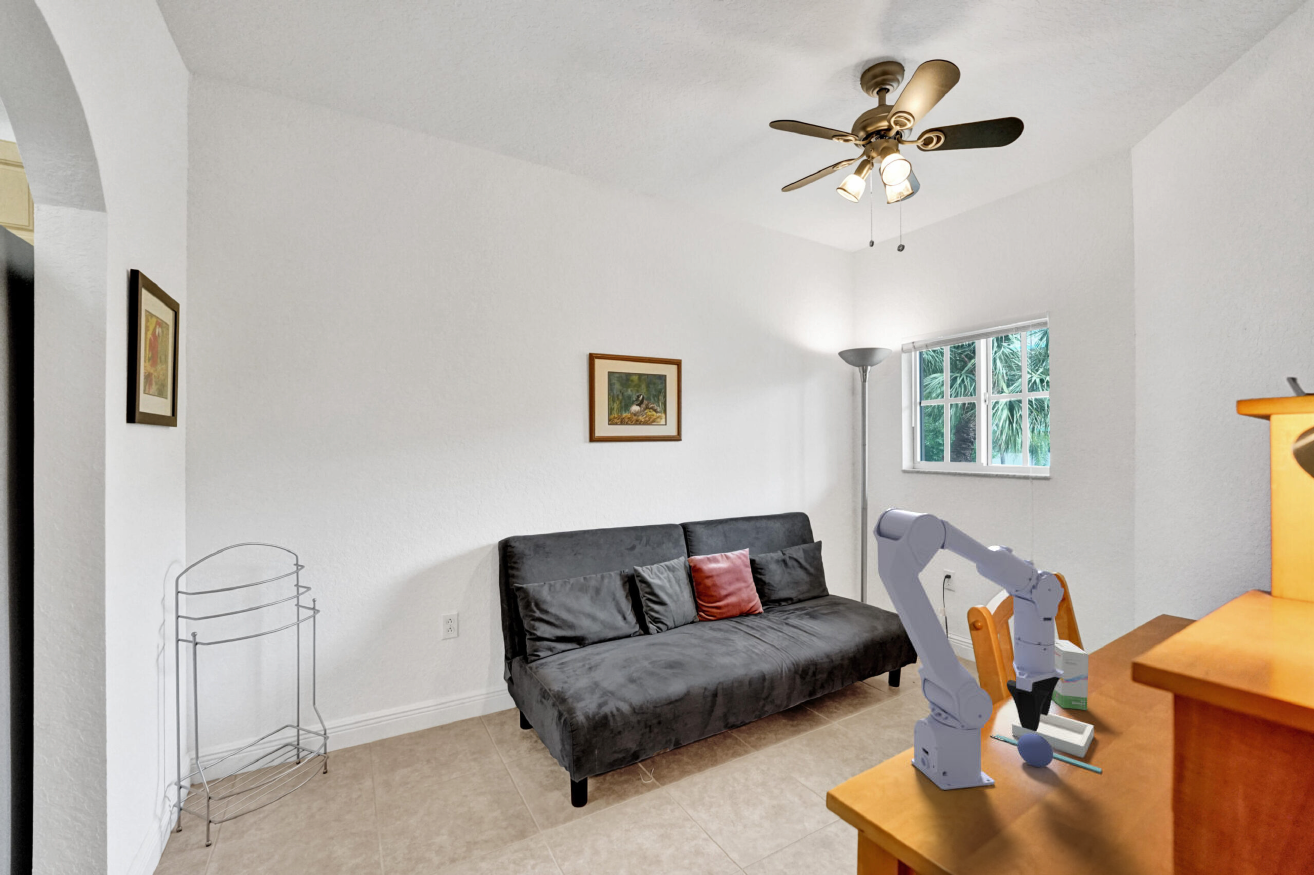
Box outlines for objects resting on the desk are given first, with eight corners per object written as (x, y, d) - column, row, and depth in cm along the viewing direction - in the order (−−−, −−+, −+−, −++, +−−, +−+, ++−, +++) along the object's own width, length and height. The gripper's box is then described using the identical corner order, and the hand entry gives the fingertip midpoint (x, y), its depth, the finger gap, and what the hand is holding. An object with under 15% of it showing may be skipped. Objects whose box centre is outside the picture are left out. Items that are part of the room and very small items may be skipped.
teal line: (990, 736, 102) (990, 734, 102) (992, 734, 102) (992, 732, 102) (1100, 773, 90) (1100, 771, 90) (1101, 770, 91) (1101, 768, 91)
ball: (1034, 775, 90) (1034, 744, 90) (1010, 758, 95) (1009, 728, 95) (1061, 772, 90) (1060, 741, 91) (1035, 755, 95) (1034, 726, 96)
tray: (1083, 758, 95) (1083, 746, 95) (1012, 735, 102) (1012, 724, 102) (1093, 736, 102) (1093, 725, 102) (1026, 716, 110) (1026, 706, 110)
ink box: (1041, 691, 122) (1041, 637, 122) (1067, 693, 121) (1067, 638, 121) (1061, 708, 113) (1061, 650, 113) (1090, 711, 112) (1089, 652, 112)
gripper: (1053, 657, 85) (1054, 745, 85) (1071, 635, 95) (1072, 714, 95) (1001, 645, 90) (1002, 729, 90) (1023, 626, 100) (1024, 701, 100)
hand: (1035, 720), depth 93 cm, fingers open, 7 cm apart
